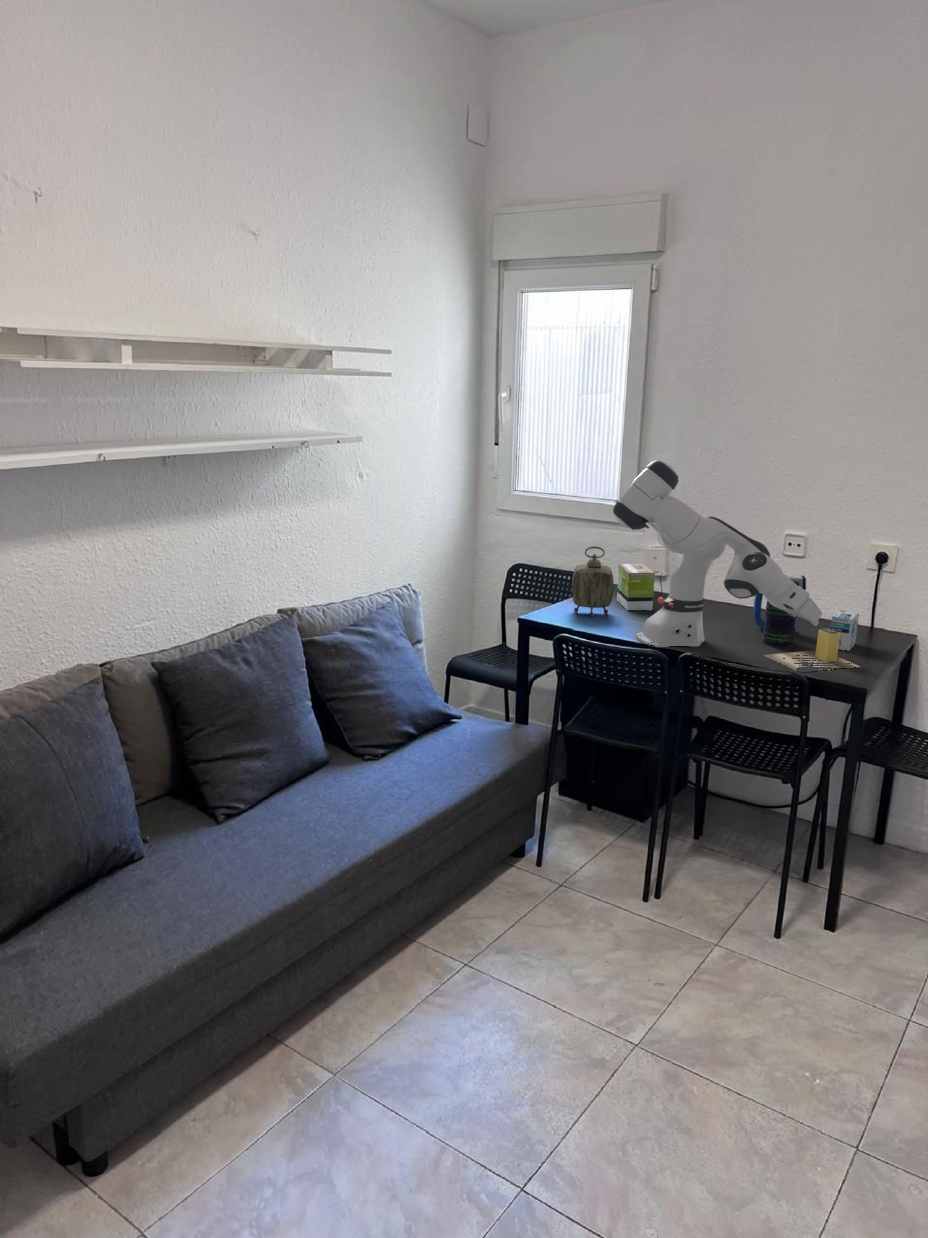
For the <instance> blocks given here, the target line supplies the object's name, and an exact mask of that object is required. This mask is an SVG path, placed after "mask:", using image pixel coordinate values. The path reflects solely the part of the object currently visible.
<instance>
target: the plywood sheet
mask: <svg viewBox="0 0 928 1238" xmlns="http://www.w3.org/2000/svg"><path fill="white" fill-rule="evenodd" d="M809 652H810V653H809ZM812 652H814V653H812ZM815 654H816V651H812V650H803V651H794V652H793V651H792V652H784V653H783V652H781V653H772V654H763V656H764V657H766V658H767V659H770V660H772V661H774V662H776V663H779V664H780V663H781V665H783V666H784V665H785V667H787V668H789V669H791V670H793V671H795V672H797V670H796V668H798V667H807V666H801V665H803V664H794V663H802V662H808V663H809V662H810V663H811V662H814V663H818V662H819V663H842V664H818V665H827V666H813V667H826V668H827V667H831V668H833V667H834V668H835V667H837V668H841V667H842V668H843V667H844V668H847V669H854V667H856V668H861V666H859V665H858V664H855V663H853V662H851V661H848V660H846V659H843V658H842V657H839V656H837V658H839V659H837V661H833V662H824V661H818V660H820V659H802V658H815ZM796 655H800V656H796ZM803 655H808V656H803ZM809 655H810V656H809ZM812 655H814V656H812ZM783 658H785V659H783ZM792 658H801V659H792ZM799 660H800V661H799ZM802 660H811V661H802ZM812 660H816V661H812ZM844 663H845V664H844ZM847 663H850V664H847ZM851 663H852V664H851ZM786 665H787V666H786ZM799 665H800V666H799ZM809 665H810V664H809ZM813 665H817V664H813ZM828 665H834V666H828ZM835 665H837V666H835ZM838 665H840V666H838ZM843 665H844V666H843ZM846 665H847V666H846ZM851 665H852V666H851ZM808 667H809V666H808ZM819 670H820V669H819ZM821 670H822V669H821ZM828 671H834V670H833V669H832V670H830V669H828Z"/></svg>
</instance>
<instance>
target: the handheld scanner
mask: <svg viewBox="0 0 928 1238" xmlns="http://www.w3.org/2000/svg"><path fill="white" fill-rule="evenodd" d="M787 576H788V577H789V578H790V580H791V581H793V582H794V583H795V584H796V585H797V586H799V587H801V588H802V589H804V590H805V591H807V578H806V576H805V575H801V576H791V575H790V576H789V575H787ZM763 597H764V595H763V594H762V593H760V594H759V595H756V596H754V600H753V608H752V609H753V617H754V621H755V623H756V625H757V626H758V627H759V628H760V629H761V630H763V631H764V626H765V621H766V620H764V619H763V618H762V615H761V613H762V603H763ZM794 628H795V629H796V626H795V627H794Z"/></svg>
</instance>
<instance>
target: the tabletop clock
mask: <svg viewBox="0 0 928 1238" xmlns="http://www.w3.org/2000/svg"><path fill="white" fill-rule="evenodd" d="M591 549H592V550H593V549H597V550H601V551H602V552H603V554H601V555H599V556H597V554H595V553H594V554H593V555H588V554H587V552H588V550H591ZM584 554H585V556H586V557H587V558H589V560H588V561H587V563H583V564H579V565H576V566H575V568H574V570H573V575H572V581H571V582H572V583H571V587H572V588H571V590H572V599H573V600H572V601H573V603H574V605H575V606H577V607H574V609H573V612H574V613H578V612H579V608H580V607H582V608H588V609H589V608H590V612H589V613H588V615H589V617H591V616H592V617H594V615H595V614H594V612H593V610H594V609H597V608H598V609H599V608H601V609H602V608H603V614H608V613H609V610H608V609H606V607H609V606H610V605H611V603H612V600H613V597H614V596H613V595H614V585H615V584H614V583H615V581H614V575H613V574H614V573H613V571H612V568H611V567H610V566H608V565H605V564H602V563H601V561H600V560H599V559H600V558H603V557H604V556H605V554H606V553H605V550H604V549H603V548H602V547H600V546H589V547H587V548H586V549H585V551H584Z"/></svg>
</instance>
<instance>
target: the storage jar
mask: <svg viewBox="0 0 928 1238" xmlns="http://www.w3.org/2000/svg"><path fill="white" fill-rule="evenodd" d="M797 617H798V616H796V617H792V616H790V615H789V613H787V612H786V611H784V610H781V609H779V608H777V607H774V606H773V605H771V604H770V603H769V602H768V600H767V599H766V604H765V620H764V621H765V626H764V630H763V631H762V644H764V645H766V646H768V647H773V648H778V647H782V648H781V649H784V648H786V647H788V648H792V647H793V646H794V641H795V632H796V626H795V625H796V618H797ZM794 627H795V628H794Z"/></svg>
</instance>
